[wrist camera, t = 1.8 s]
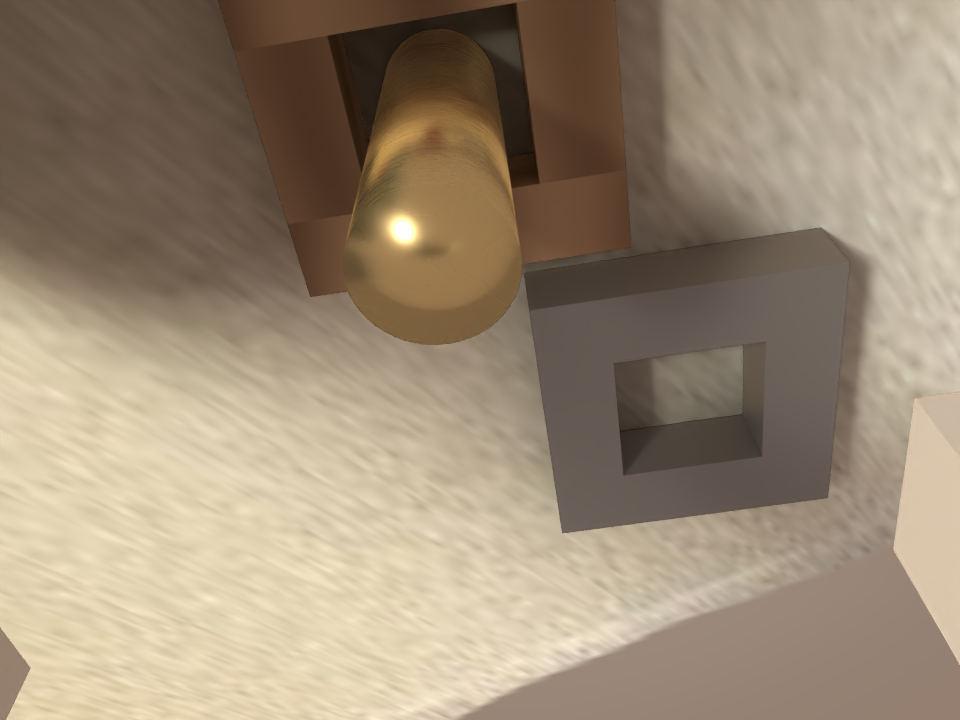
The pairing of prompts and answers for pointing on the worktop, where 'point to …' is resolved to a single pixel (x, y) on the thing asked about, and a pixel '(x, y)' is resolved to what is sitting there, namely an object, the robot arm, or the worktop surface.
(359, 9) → the brown wooden square frame
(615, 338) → the plate
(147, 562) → the worktop surface
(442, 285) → the lock pin
